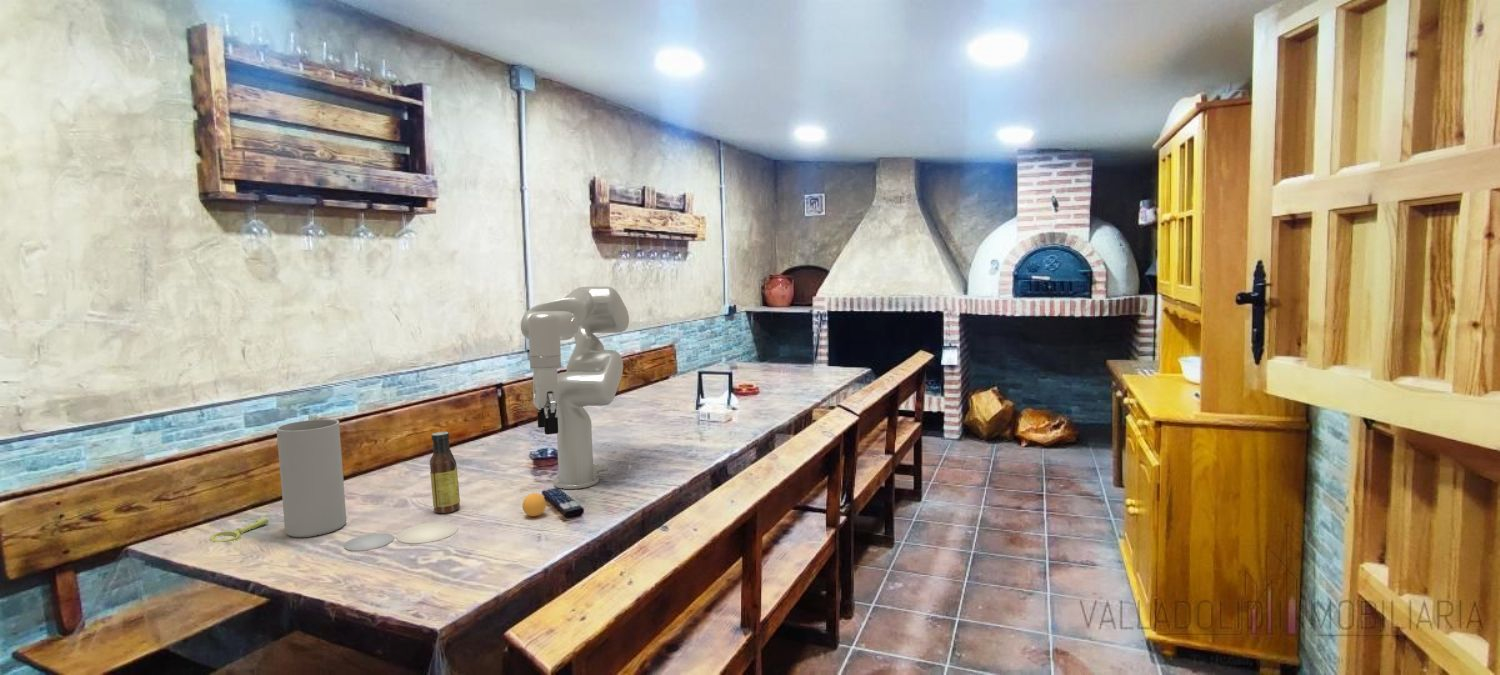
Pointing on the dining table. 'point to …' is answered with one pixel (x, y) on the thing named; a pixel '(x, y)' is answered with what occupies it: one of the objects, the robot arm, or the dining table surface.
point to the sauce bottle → (444, 475)
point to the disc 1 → (368, 542)
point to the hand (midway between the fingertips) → (547, 430)
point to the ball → (534, 505)
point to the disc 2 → (427, 532)
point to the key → (238, 531)
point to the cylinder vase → (311, 477)
